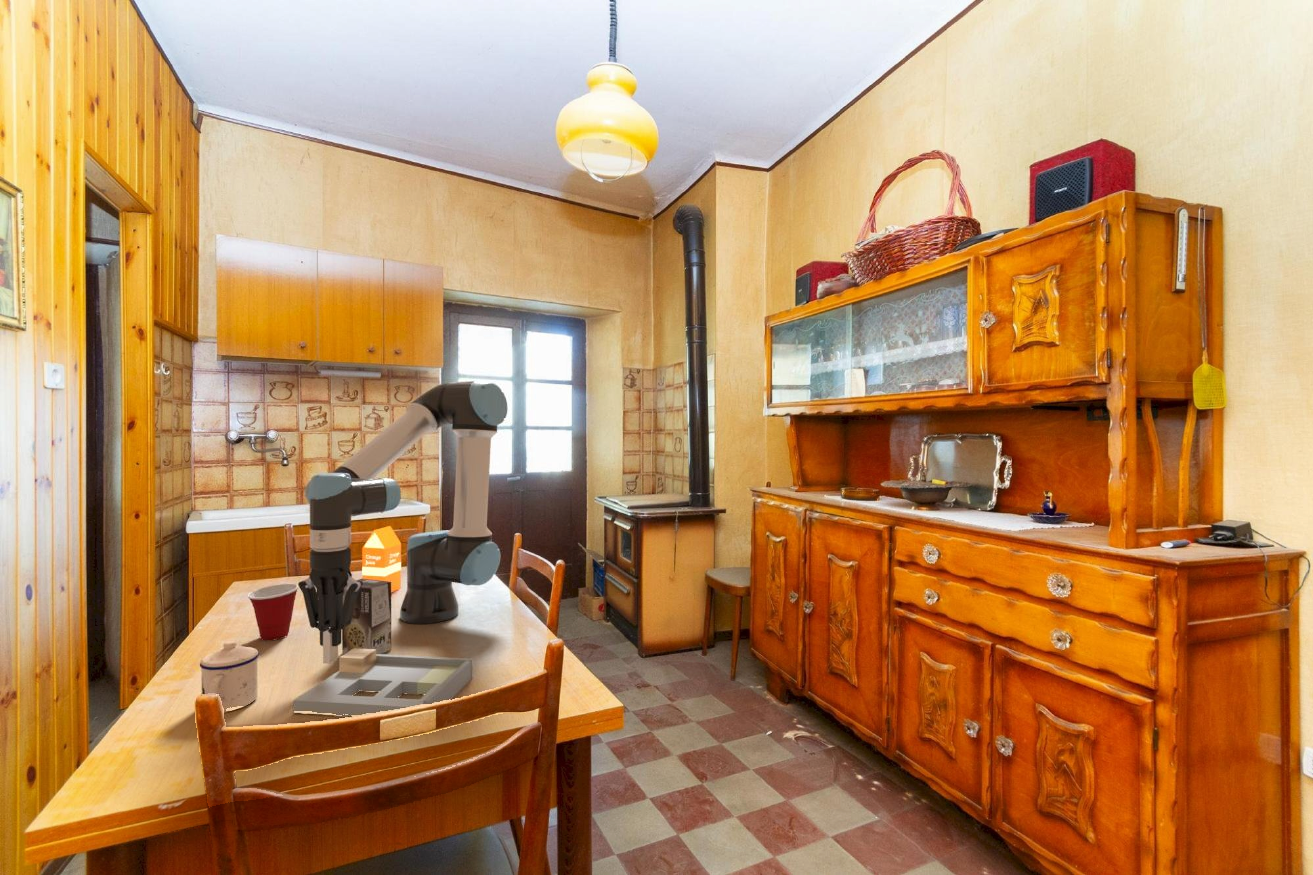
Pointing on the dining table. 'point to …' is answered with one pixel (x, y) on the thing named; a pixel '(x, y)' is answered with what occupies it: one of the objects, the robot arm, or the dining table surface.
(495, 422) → the robot arm
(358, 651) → the block
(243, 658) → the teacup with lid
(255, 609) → the plastic cup
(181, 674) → the dining table surface
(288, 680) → the dining table surface
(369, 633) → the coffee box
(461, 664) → the grey compartment tray
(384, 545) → the orange juice
